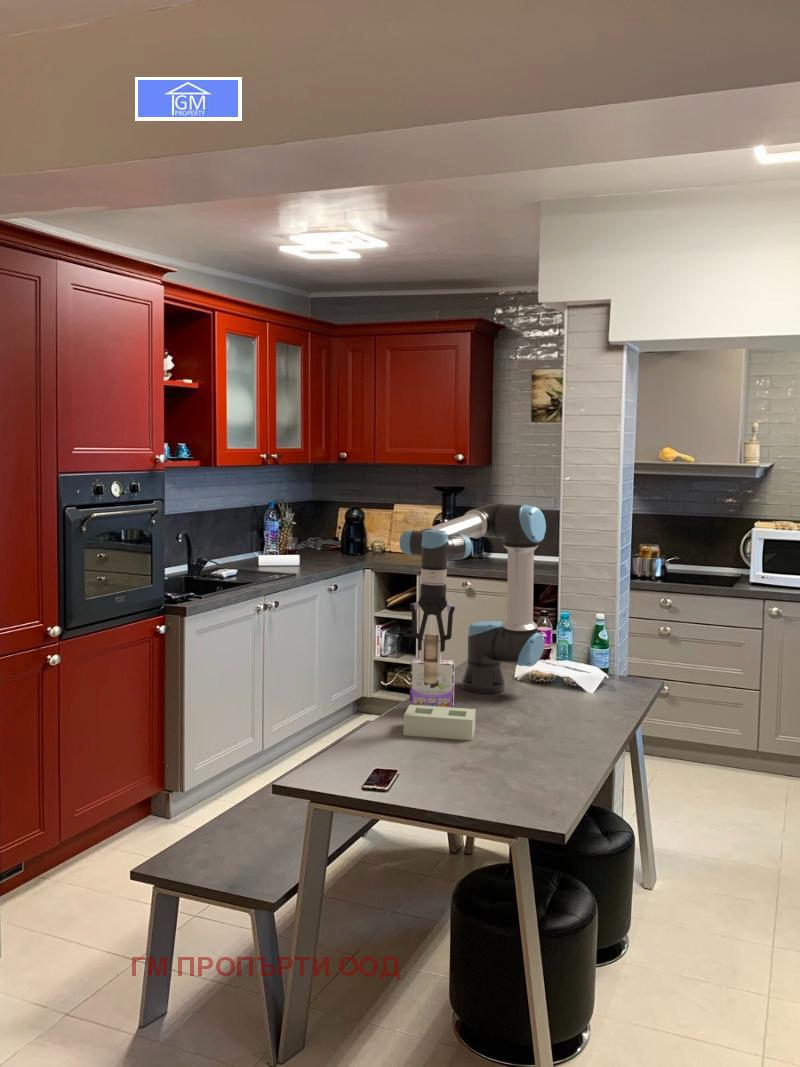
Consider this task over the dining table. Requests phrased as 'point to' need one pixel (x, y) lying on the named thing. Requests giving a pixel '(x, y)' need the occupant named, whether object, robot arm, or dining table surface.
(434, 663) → the dowel
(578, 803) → the dining table surface
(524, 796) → the dining table surface
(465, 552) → the robot arm
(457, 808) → the dining table surface
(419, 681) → the candy box
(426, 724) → the pale green holed block
